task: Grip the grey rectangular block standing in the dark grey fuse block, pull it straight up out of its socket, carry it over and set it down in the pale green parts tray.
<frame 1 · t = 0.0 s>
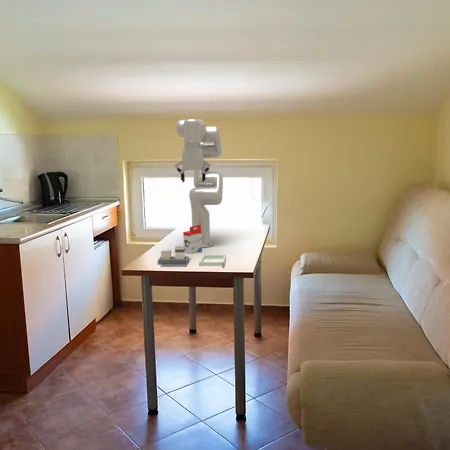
hand: (193, 181, 237), 37 cm above the table, tool pointing down, fingers open, 9 cm apart
ink box: (193, 254, 249), on the table
grey rectangular block: (180, 262, 228), point 1 cm above the table, touching fuse block
fuse block: (176, 264, 229), on the table
parts tray: (213, 263, 228), on the table
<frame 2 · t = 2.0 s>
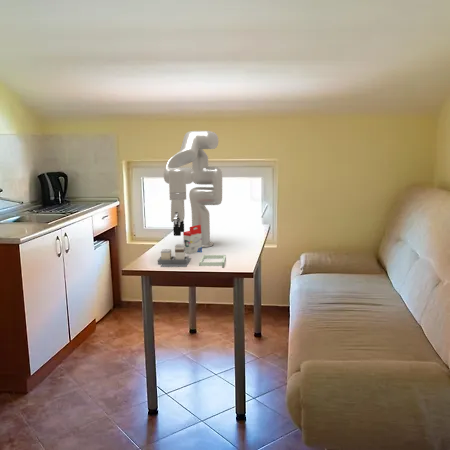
hand: (179, 233, 225), 15 cm above the table, tool pointing down, fingers open, 9 cm apart
nothing on the table moved.
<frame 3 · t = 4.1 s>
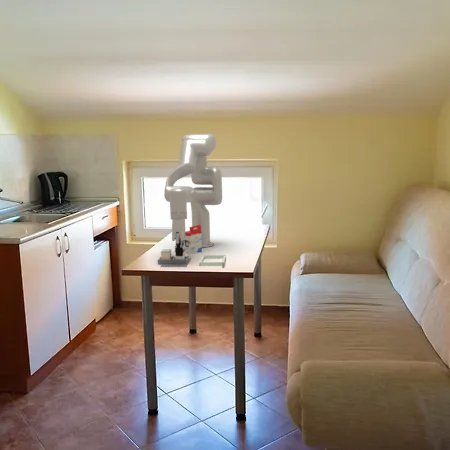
hand: (180, 254, 228), 5 cm above the table, tool pointing down, fingers closed on grey rectangular block, 4 cm apart
grey rectangular block: (180, 262, 228), point 1 cm above the table, touching fuse block, gripper
everything else where it was.
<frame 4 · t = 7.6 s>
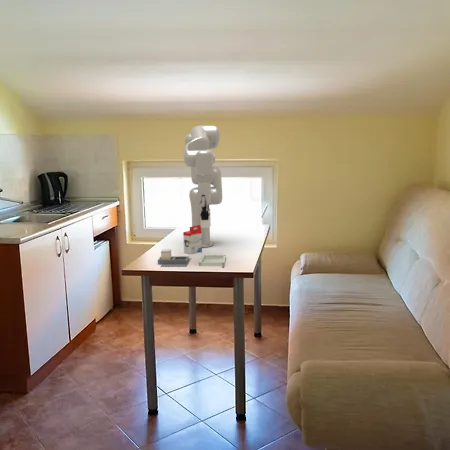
hand: (205, 218, 225), 21 cm above the table, tool pointing down, fingers closed on grey rectangular block, 4 cm apart
grey rectangular block: (205, 226, 225), point 17 cm above the table, touching gripper
everything else where it was.
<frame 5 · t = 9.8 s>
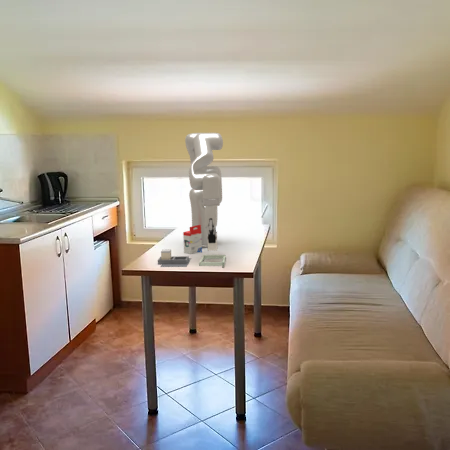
hand: (212, 241, 226), 11 cm above the table, tool pointing down, fingers closed on grey rectangular block, 4 cm apart
grey rectangular block: (212, 249, 227), point 7 cm above the table, touching gripper
everything else where it was.
when the fingers open (5 cm above the table, at t = 11.6 s): grey rectangular block stays where it is, resting on parts tray.
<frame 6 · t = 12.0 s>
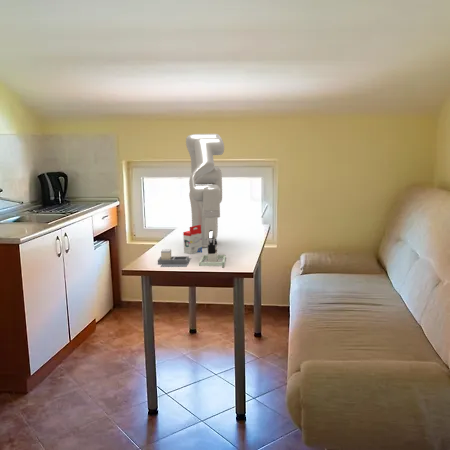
hand: (212, 251, 227), 6 cm above the table, tool pointing down, fingers open, 8 cm apart
grey rectangular block: (213, 262, 228), point 1 cm above the table, touching parts tray
everything else where it was.
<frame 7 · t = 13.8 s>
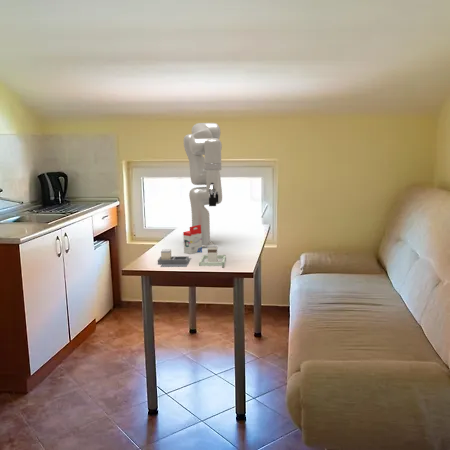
hand: (213, 204, 226), 27 cm above the table, tool pointing down, fingers open, 9 cm apart
nothing on the table moved.
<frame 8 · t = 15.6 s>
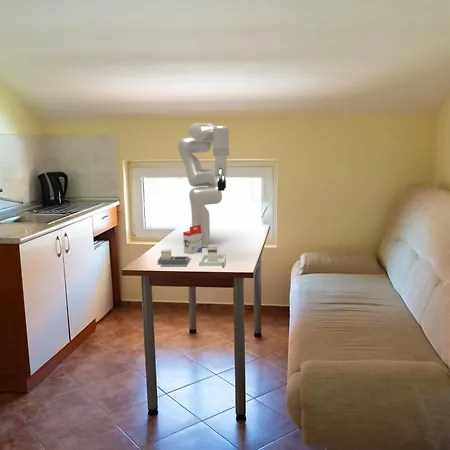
hand: (221, 189, 233), 33 cm above the table, tool pointing down, fingers open, 9 cm apart
nothing on the table moved.
at the end: grey rectangular block inside the target area on the parts tray (0.2 cm from its centre), point 0.6 cm above the parts tray's base; the gripper is holding nothing; grey rectangular block touching parts tray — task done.
